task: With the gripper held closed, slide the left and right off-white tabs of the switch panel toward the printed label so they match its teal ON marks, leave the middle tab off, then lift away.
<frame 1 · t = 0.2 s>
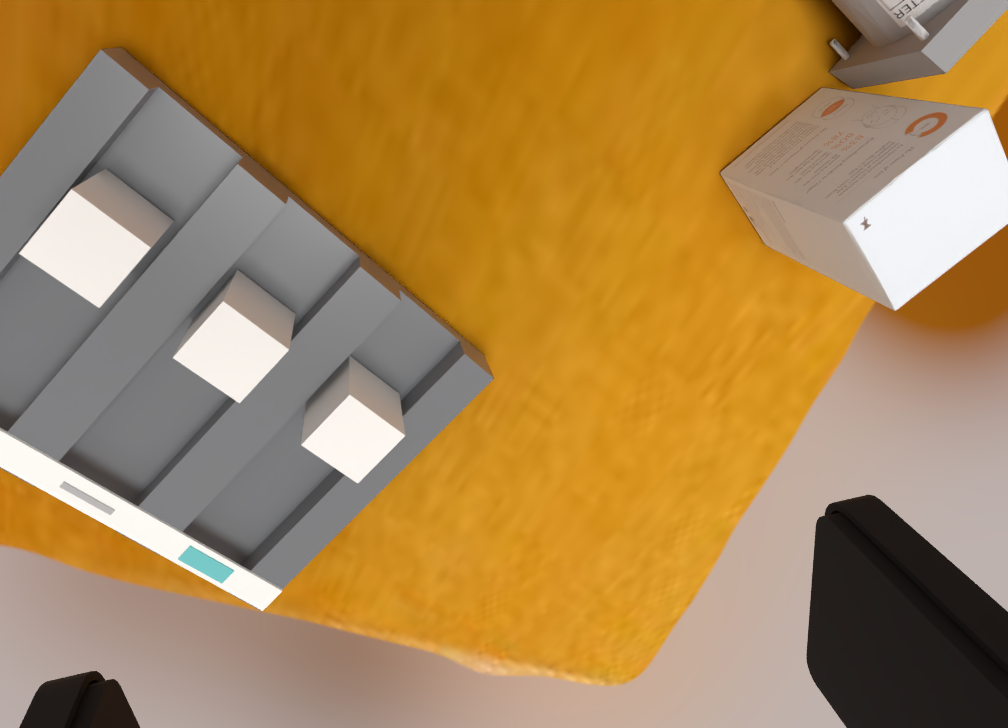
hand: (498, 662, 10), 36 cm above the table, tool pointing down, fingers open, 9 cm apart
small box: (790, 168, 47), on the table
switch panel: (205, 354, 45), on the table
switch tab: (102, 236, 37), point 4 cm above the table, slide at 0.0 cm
switch tab middle: (238, 334, 40), point 4 cm above the table, slide at 0.0 cm
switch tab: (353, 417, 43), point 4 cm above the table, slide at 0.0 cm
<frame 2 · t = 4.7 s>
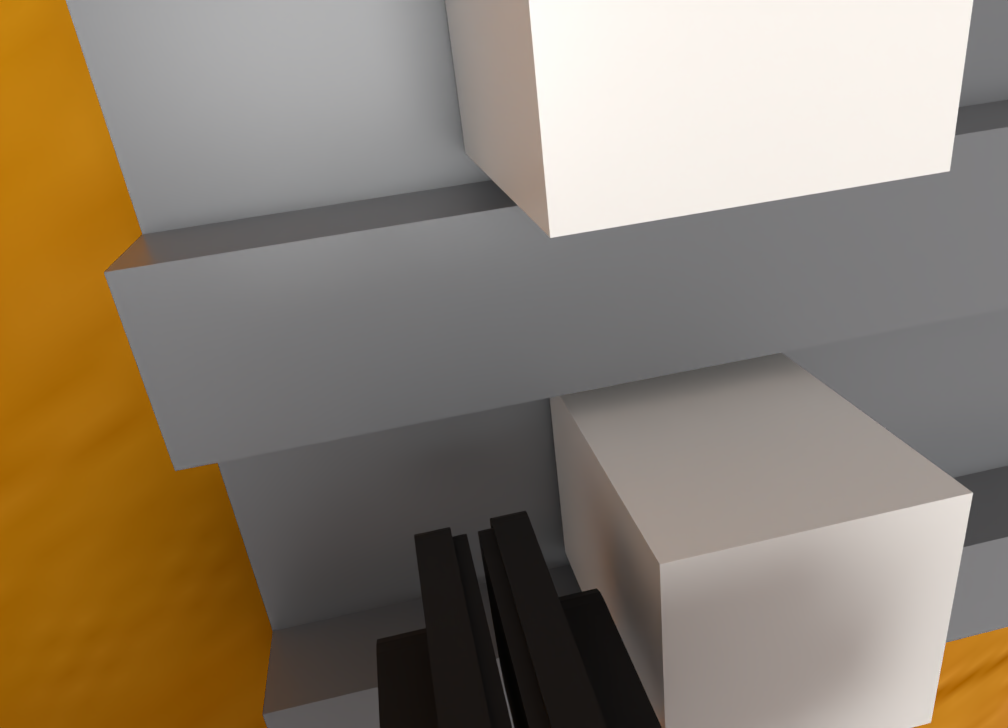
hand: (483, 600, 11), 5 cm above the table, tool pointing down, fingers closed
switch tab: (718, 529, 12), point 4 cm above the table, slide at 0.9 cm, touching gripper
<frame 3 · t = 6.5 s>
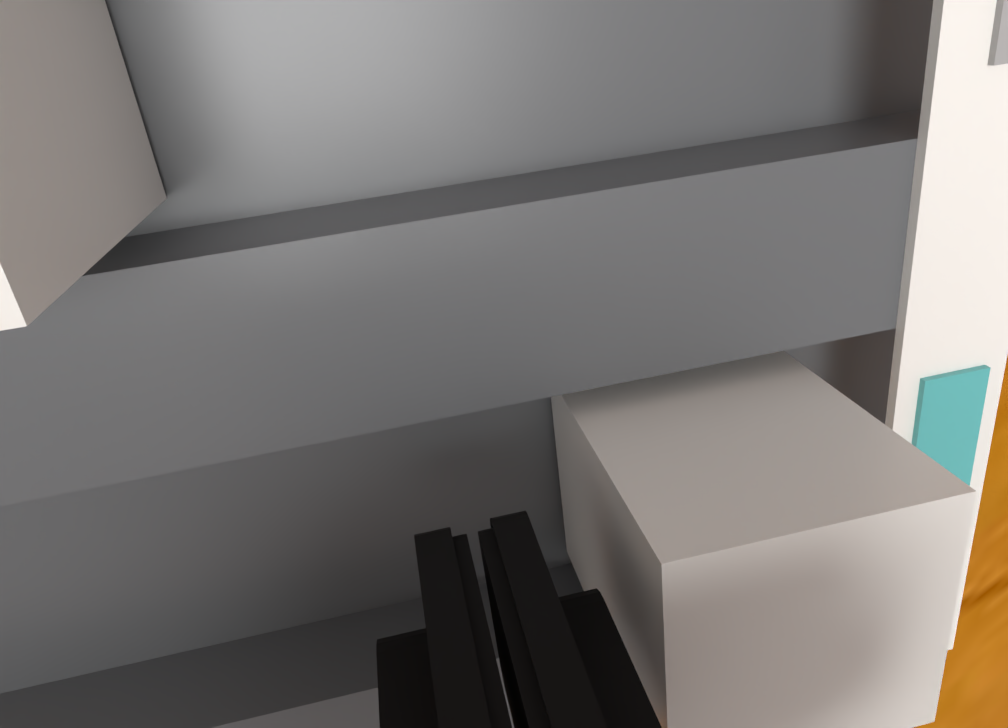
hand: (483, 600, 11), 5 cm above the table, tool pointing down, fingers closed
switch panel: (280, 31, 12), on the table
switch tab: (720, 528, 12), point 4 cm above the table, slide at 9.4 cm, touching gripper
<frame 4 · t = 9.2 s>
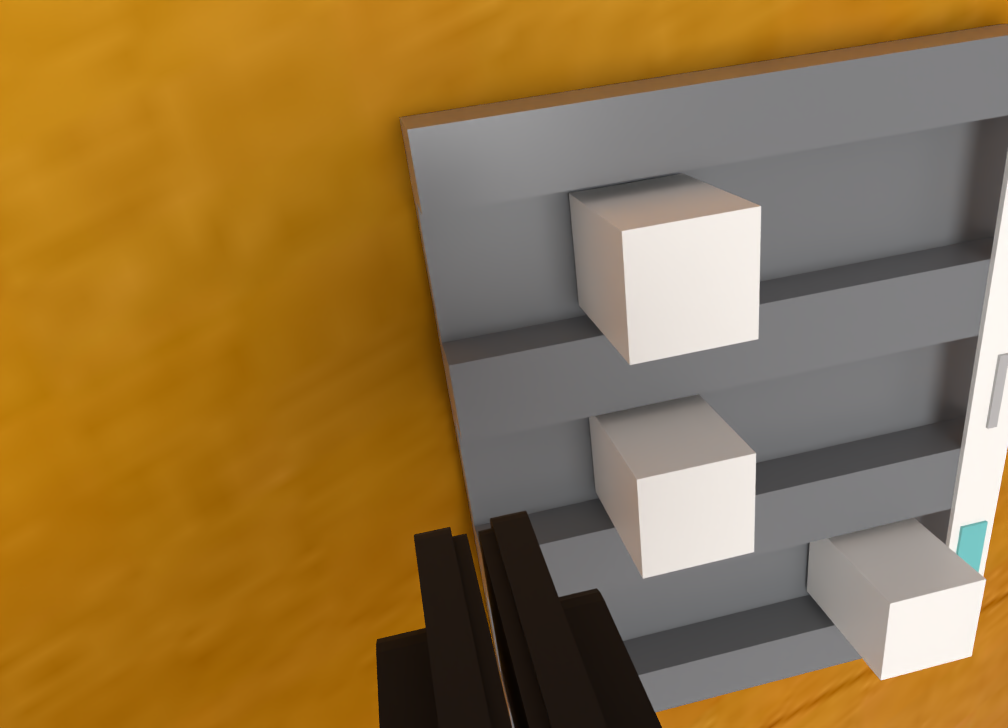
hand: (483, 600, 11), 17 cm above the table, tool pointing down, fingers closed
switch panel: (717, 399, 31), on the table
switch tab middle: (666, 474, 27), point 4 cm above the table, slide at 0.0 cm
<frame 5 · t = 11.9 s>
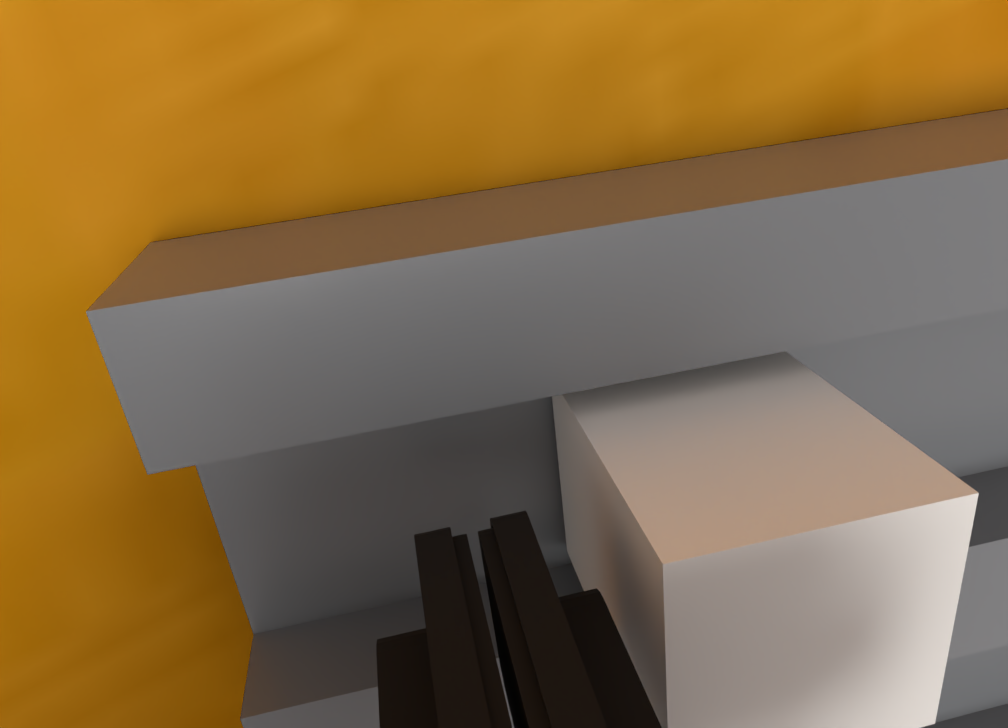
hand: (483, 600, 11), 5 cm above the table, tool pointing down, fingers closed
switch panel: (739, 653, 20), on the table
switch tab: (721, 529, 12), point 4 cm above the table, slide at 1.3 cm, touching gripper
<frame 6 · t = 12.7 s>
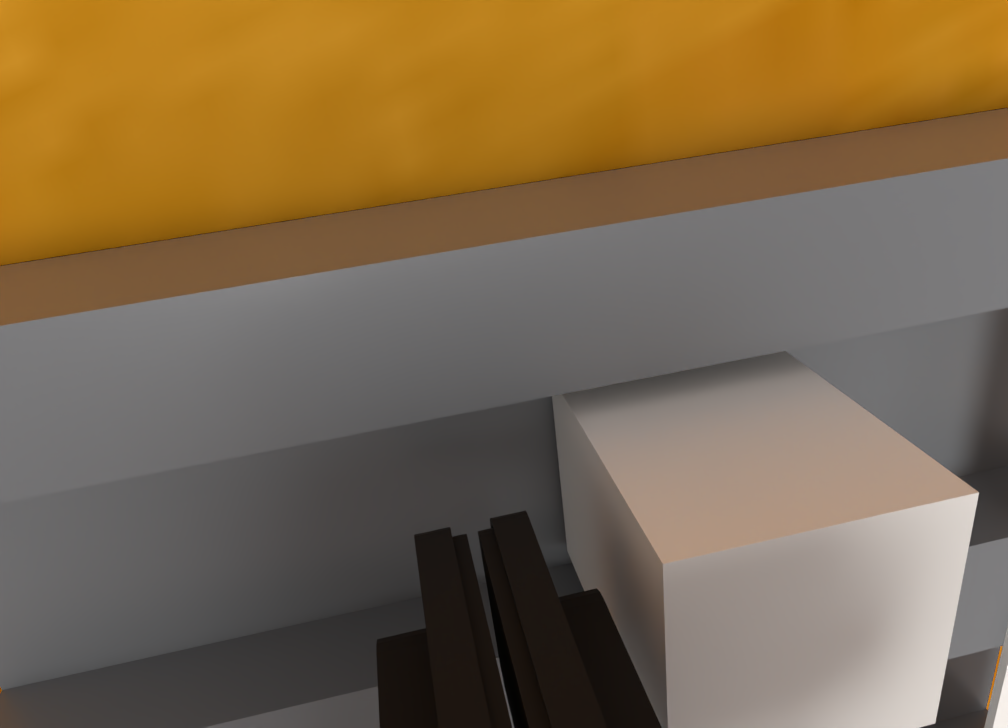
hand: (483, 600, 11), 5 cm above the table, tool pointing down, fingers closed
switch panel: (569, 695, 19), on the table
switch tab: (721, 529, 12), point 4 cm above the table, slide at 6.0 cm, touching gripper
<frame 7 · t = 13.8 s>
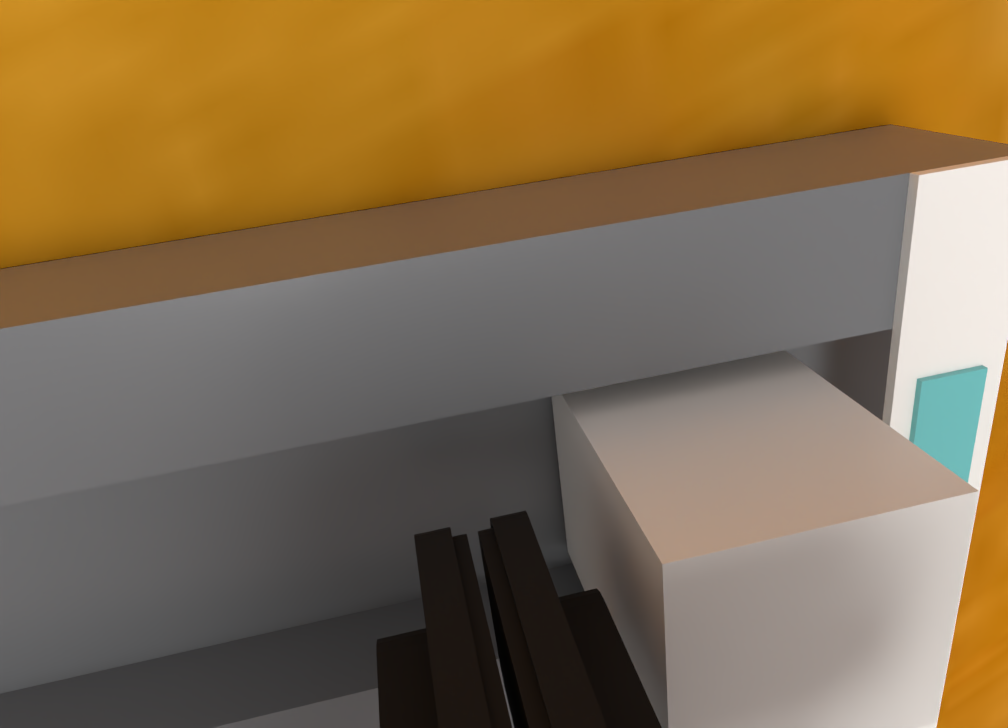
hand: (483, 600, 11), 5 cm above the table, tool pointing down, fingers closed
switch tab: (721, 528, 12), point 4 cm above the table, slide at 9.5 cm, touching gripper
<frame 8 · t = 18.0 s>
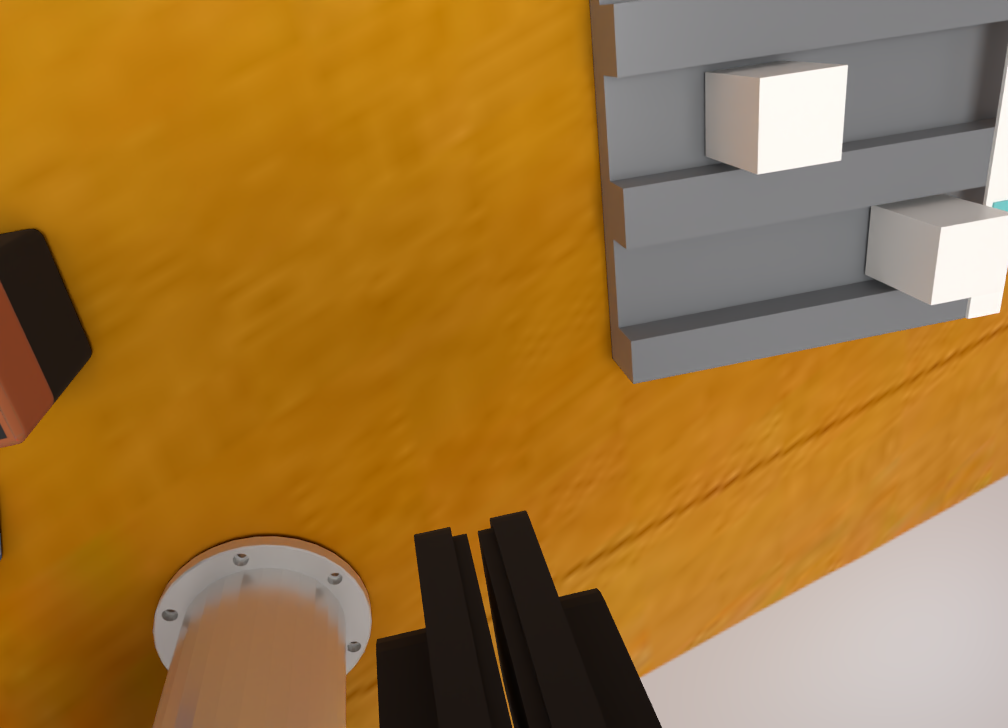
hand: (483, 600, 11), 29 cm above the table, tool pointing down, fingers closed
battery: (26, 300, 36), on the table
switch panel: (799, 95, 39), on the table
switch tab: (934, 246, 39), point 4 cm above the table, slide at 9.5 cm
switch tab middle: (770, 114, 35), point 4 cm above the table, slide at 0.0 cm
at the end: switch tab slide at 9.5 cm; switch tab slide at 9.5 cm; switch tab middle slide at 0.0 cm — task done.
